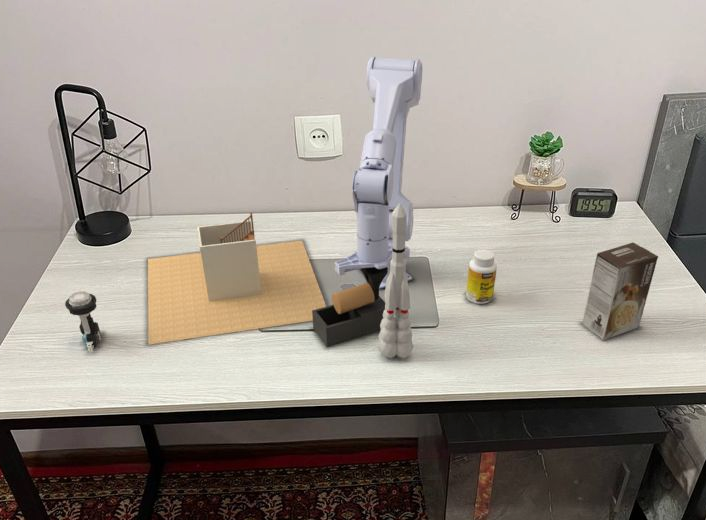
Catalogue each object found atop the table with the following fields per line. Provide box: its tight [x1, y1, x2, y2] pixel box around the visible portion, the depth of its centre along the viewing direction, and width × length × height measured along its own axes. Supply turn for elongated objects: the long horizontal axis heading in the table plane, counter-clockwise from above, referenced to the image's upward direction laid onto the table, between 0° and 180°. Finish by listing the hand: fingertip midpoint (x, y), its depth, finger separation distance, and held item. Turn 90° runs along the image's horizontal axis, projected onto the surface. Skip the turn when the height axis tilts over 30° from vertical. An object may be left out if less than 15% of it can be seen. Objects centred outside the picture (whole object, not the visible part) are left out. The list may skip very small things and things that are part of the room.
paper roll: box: [331, 282, 374, 314], centre depth 131 cm, size 4×7×4 cm, turn 117°
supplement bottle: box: [465, 249, 498, 305], centre depth 141 cm, size 6×6×10 cm
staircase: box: [196, 211, 263, 302], centre depth 142 cm, size 9×11×17 cm
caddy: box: [312, 295, 386, 348], centre depth 134 cm, size 7×13×5 cm, turn 117°
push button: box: [64, 291, 102, 352], centre depth 128 cm, size 7×5×10 cm
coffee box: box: [581, 242, 659, 341], centre depth 131 cm, size 9×6×16 cm
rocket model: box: [378, 203, 414, 359], centre depth 120 cm, size 7×7×30 cm
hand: (372, 297), depth 133 cm, fingers closed, pressing on paper roll
